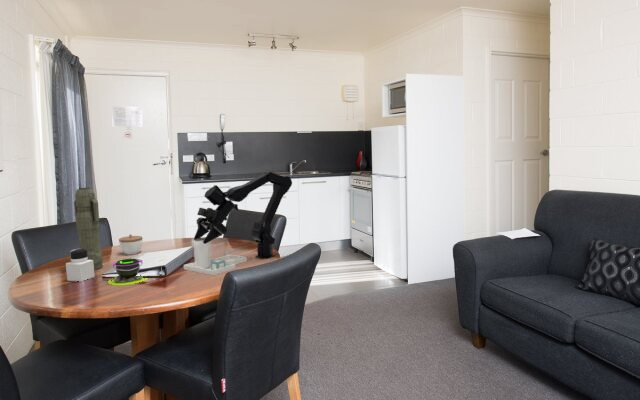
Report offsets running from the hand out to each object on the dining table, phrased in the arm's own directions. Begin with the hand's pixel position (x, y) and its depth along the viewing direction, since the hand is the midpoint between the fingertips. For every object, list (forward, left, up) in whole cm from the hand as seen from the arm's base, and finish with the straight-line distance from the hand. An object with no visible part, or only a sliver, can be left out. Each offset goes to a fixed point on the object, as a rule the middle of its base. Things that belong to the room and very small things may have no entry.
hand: (199, 241), depth 195 cm
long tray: (-1, +4, -12) cm, 13 cm away
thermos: (+24, -44, -12) cm, 51 cm away
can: (-2, -1, -11) cm, 12 cm away
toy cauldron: (+25, -13, -12) cm, 31 cm away
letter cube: (-1, +9, -11) cm, 15 cm away
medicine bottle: (+35, -31, -12) cm, 48 cm away
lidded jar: (-2, -56, -12) cm, 57 cm away
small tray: (-13, +3, -12) cm, 18 cm away
